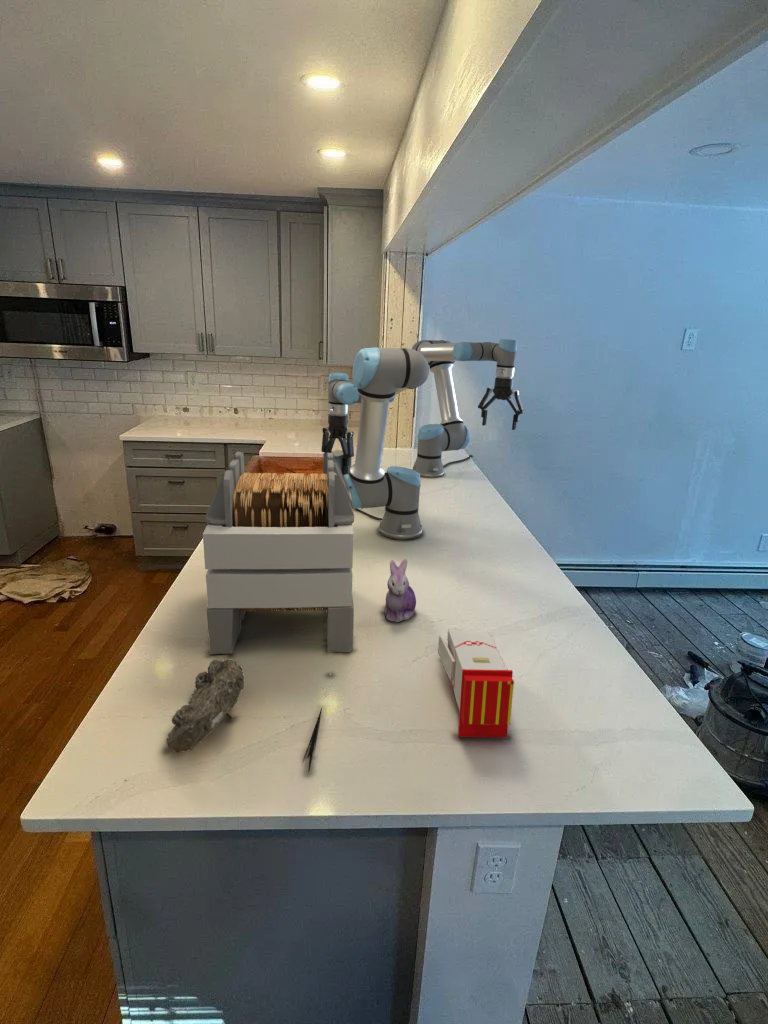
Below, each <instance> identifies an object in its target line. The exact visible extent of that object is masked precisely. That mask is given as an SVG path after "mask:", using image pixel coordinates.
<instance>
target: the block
mask: <svg viewBox="0 0 768 1024" xmlns="http://www.w3.org/2000/svg"><path fill="white" fill-rule="evenodd" d="M322 453H323V454H322V455H323V457H322V460H323V461H322V464H323V465H322V474H327V453H333V454H334V457H335V459H336V461H337V463H338V465H339V467H340V470H341V472H342V458H344V455H343V451H342V449H335V450H332V451H331V452H327V453H324V452H322ZM351 466H352V457H350V461H349V466H348V473H347V474H349V473H350V467H351ZM344 475H346V474H344ZM344 475H343V476H344Z"/></svg>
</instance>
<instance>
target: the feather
mask: <svg viewBox="0 0 768 1024" xmlns="http://www.w3.org/2000/svg"><path fill="white" fill-rule="evenodd" d="M329 675H330V676H331V675H332V674H331V673H330V674H329ZM322 710H323V707H321V708H320V710H319V713H318V716H317V719H316V723H315V725H314V728H313V731H312V733H311V737H310V739H309V742H308V745H307V748H306V751H305V754H304V757H303V760H302V763H301V767H302V765H303V763H304V761H305V758H308V759H309V760H308V762H307V763H308V764H307V766H308V771H310V770H311V766H312V765H311V764H312V760H313V757H315V756H314V755H315V751H316V749H315V746H317V739H318V733H319V729H320V722H321V717H322V712H323V711H322ZM313 754H314V755H313ZM306 755H307V757H306Z"/></svg>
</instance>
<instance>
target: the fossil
mask: <svg viewBox="0 0 768 1024" xmlns="http://www.w3.org/2000/svg"><path fill="white" fill-rule="evenodd" d="M243 670H244V669H243V667H242V665H240V664H237V662H236V661H235V660H234V659H232V658H231V659H227V658H226V659H224V660H223V661H222V660H217V659H212V660H211V661H210V663H209V665H208V666H207V671H201V672H199V673H198V674H197V675H196V676H195V680H194V684H195V685H194V687H195V689H194V690H193V693H192V694H191V697H190V698H189V700H188V704H184V705H182V706H181V707H180V709H177V710H176V711H175V713H174V715H173V716H172V718H171V723H172V724H173V727H172V730H171V731H170V732H168V734H167V738H166V741H167V742H166V745H167V749H168V750H169V751H173V752H174V753H176V754H178V753H182V752H188V751H189V752H192V751H193V750H195V748H196V747H197V746H199V744H200V743H201V742H203V741H204V740H205V739H206V738H207V737H208V736H209V735H210V734H211V733H212V732H214V730H215V729H217V727H218V726H219V724H220V722H221V721H222V720H223V719H224V718H225V716H226V717H227V719H229V720H233V717H232V715H230V714H229V710H230V709H231V708H234V706H235V704H236V703H237V702H238V699H239V697H240V695H241V693H242V691H243V690H245V689H244V688H245V675H244V671H243Z"/></svg>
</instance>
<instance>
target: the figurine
mask: <svg viewBox="0 0 768 1024" xmlns="http://www.w3.org/2000/svg"><path fill="white" fill-rule="evenodd" d="M407 567H408V559H406V558H404V559H403V560H402V561H401V563H400V565H399V566H398V565H397V563H396V562H395V561H394V560H393V559H391V560H390V561H389V570H390V576H389V578H388V579H387V589H388V591H387V592H386V594H385V595H386V596H385V607H384V615H385V616H386V620H387V621H391V622H395V623H400V622H402V621H406V620H409V619H410V618H411V617H413V616H414V615H415V610H416V606H417V597H416V593H415V591H414V590H413V587H411V586H410V582H409V579H408V577H407V574H406V571H407Z"/></svg>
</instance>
